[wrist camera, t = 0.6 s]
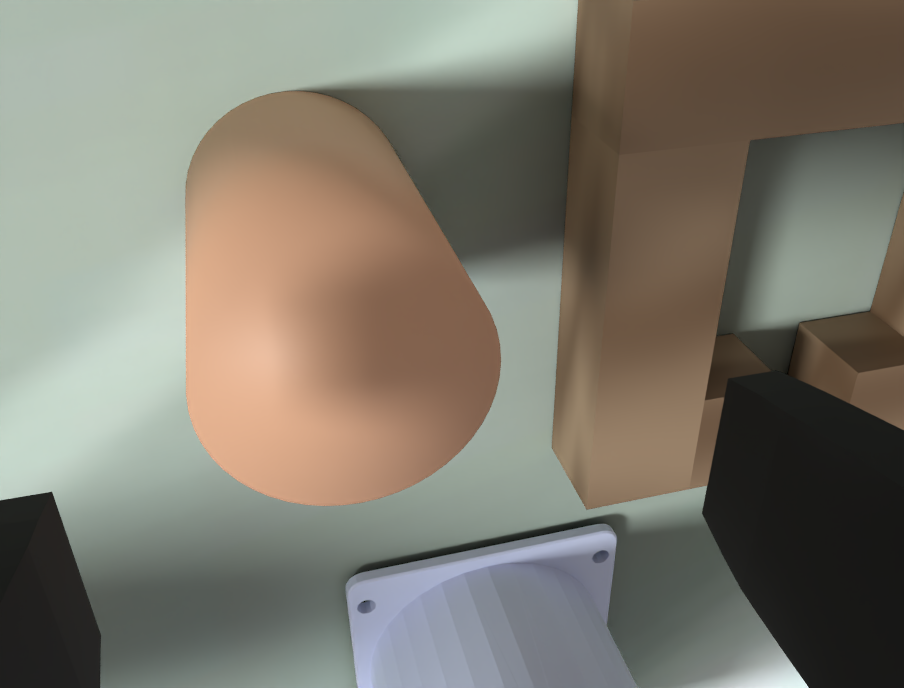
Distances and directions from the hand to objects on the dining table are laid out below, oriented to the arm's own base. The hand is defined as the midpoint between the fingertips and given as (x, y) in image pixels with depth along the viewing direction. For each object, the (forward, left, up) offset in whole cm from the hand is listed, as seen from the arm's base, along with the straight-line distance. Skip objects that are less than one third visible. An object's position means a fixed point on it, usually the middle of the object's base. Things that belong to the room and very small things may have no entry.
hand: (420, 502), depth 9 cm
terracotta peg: (-1, 0, -10) cm, 10 cm away
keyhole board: (-3, -12, -10) cm, 16 cm away
